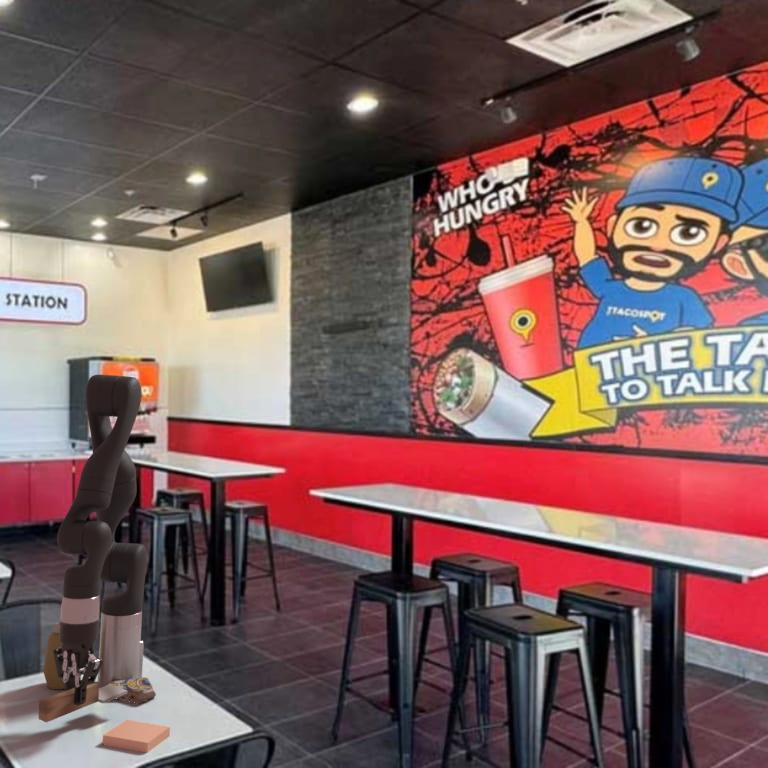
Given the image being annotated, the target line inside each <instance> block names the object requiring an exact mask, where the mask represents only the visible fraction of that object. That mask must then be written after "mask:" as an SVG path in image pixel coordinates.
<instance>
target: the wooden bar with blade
mask: <svg viewBox="0 0 768 768" xmlns="http://www.w3.org/2000/svg"><path fill="white" fill-rule="evenodd" d="M127 693H128V691H127V690H125V689H122V688H119V687H116V686H113V685H111V684H109V685H106V686H104V687H101V688H99V684H97V682H94V683H93V684H89V685H87V691H86V701H85V703H84V704H81V705H78V706H77V705H75V704H74V697H75V688H73V689H70V690H67V691H65V690H64V691H61V692H60V693H56V694H54V695H51V696H49V697H46V698H43V699H40V700H39V701H38V720H40V721H42V722H44V723H49V722H51V721H53V720H56V719H58V718H62V717H63V716H66V715H68V714H71V713H73V712H75V711H79V710H81V709H84V708H85V707H88V706H90V705H93V704H95V703H100V704H105V703H108V702H110V701H112V700H116V699H115V698H118V697H120V696H122V695H125V694H127Z"/></svg>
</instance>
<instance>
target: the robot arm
mask: <svg viewBox="0 0 768 768" xmlns="http://www.w3.org/2000/svg"><path fill="white" fill-rule="evenodd" d="M142 394H143V393H142V385H141V383H140V381H139V379H137V378H136V377H133V376H127V375H126V376H125V375H113V374H93V375H91V376H90V378H89V379H88V381H87V384H86V388H85V406H86V414H87V419H88V424H89V425H88V426H89V432H90V437H91V438H90V439H91V446H92V454H91V455H90V456H89V458H88V459H87V460H86V462H85V464H84V466H83V468H82V470H81V474H80V476H79V482H78V487H77V489H76V490H77V491H76V494H75V497H74V500H73V502H72V503H71V505H70V507H69V510H68V511H67V513H66V514H65V516H64V519H63V520H62V522H61V524H60V527H59V529H58V531H57V537H56V541H57V546H58V548H59V550H60V551H61V552H62V553H64V554H67V555H80V556H83V555H84V556H87V558H86V560H85V562H84V563H83V564H77V565H72V566H70V567H68V568H66V570H65V571H64V576H63V589H62V592H63V593H62V600H61V605H60V617H59V621H60V631H59V641H60V642H61V643H63V645H62V647H61V648H57V649H54V650H53V654H54V658H55V663H56V668H57V673H58V677H59V678H63V682H64V683H65V689H64V691H67V690H70V689H73V688H75V697H74V704H75V705H77V706H78V705H81V704H84V703H85V701H86V691H87V685H89V684H93V683H97V684H99V688H101V687H104V686H106V685H108V683H107V682H110V681H115V680H125V679H133V678H142V677H143V665H144V663H143V662H144V646H145V645H144V643H145V642H144V640H141V639H142V636H141V635H142V621H143V617H142V616H143V605H144V595H145V593H144V592H145V582H146V581H145V579H146V572H147V564H148V563H147V562H148V552H147V548H146V546H145V545H143V544H141V543H128V542H126V543H124V542H116V540H115V535H116V530H117V528H118V526H119V524H120V522H121V521H122V520H123V518H124V516H125V515H126V513H127V512H128V510H129V509H130V508H131V506H132V505H133V503H134V501H135V500H136V499H135V498H136V496H137V489H138V488H137V486H138V485H137V472H136V471H137V470H136V469H137V468H136V466H135V463H134V461H133V459H132V458H131V456H130V455H129V453H128V452H127V450H125V449H126V446H127V444H128V441H129V438H130V436H131V434H132V430H133V428H134V425H135V422H136V419H137V416H138V413H139V411H140V407H141V402H142ZM110 417H112V418H113V417H114V418H116V419H115V422H114V425H113V427H112V422H111V419H110ZM93 513H96V520H87V519H88V517H89V516H90V515H91V514H93ZM101 581H102V582H105V583H117V584H119V583H121V584H127V588H126V589H125V590H124V591H122V592H119V593H115V594H113V595H110V596H107V597H106V598H103V600H102V603H100V591H101V589H100V588H101ZM100 605H101V606H100ZM100 609H101V615H100ZM99 626H100V627H99ZM99 628H100V631H99ZM99 632H100V633H99ZM99 635H100V637H99ZM98 639H99V650H98V651H99V652H98V658H97V657H96V656H95V649H94V643H95V642H96V641H97V640H98ZM62 665H63V669H62ZM79 669H80V670H79ZM81 676H82V677H81ZM96 680H97V682H96Z"/></svg>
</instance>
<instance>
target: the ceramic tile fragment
mask: <svg viewBox="0 0 768 768" xmlns="http://www.w3.org/2000/svg"><path fill="white" fill-rule="evenodd" d="M107 683H108V685H109V684H111V685H113V686H116V687H119V688H122V689H125V690H127V691H128V693H127V694H125V695H122V696H120V697H118V698H117V699H116V700H118V699H120V701H121V700H126V701H125V702H127V701H130V702H132V703H131V704H136V703H138V704H141V703H144V702H146V700H147V701H149V700H152V699H151V698H153V699H155V697H156V696H157V693H156V692H155V690H154V687H153V685H152V683H151V682H150V680H149V678H148V677H144V676H142V678H133V679H125V680H115V681H110V682H107ZM148 699H149V700H148ZM130 702H129V703H130ZM133 702H135V703H133Z"/></svg>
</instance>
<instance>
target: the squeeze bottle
mask: <svg viewBox="0 0 768 768" xmlns="http://www.w3.org/2000/svg"><path fill="white" fill-rule="evenodd" d="M59 631H60V620H59V621H58V622H55V623H54V624H53V632H52V633H51V634H50V635H48V640H47V646H46V653H45V658H44V663H43V664H44V665H43V671H42V672H43V675H44V679H45V682H46V685H47V687H48V688H49V689H52V690H65V683H64V682H63V678H59V677H58V673H57V668H56V663H55V658H54V654H53V650H54V649H57V648H61V647H62V645H63V643H61V642H60V641H59ZM62 669H63V665H62ZM79 670H81V669H79Z"/></svg>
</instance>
